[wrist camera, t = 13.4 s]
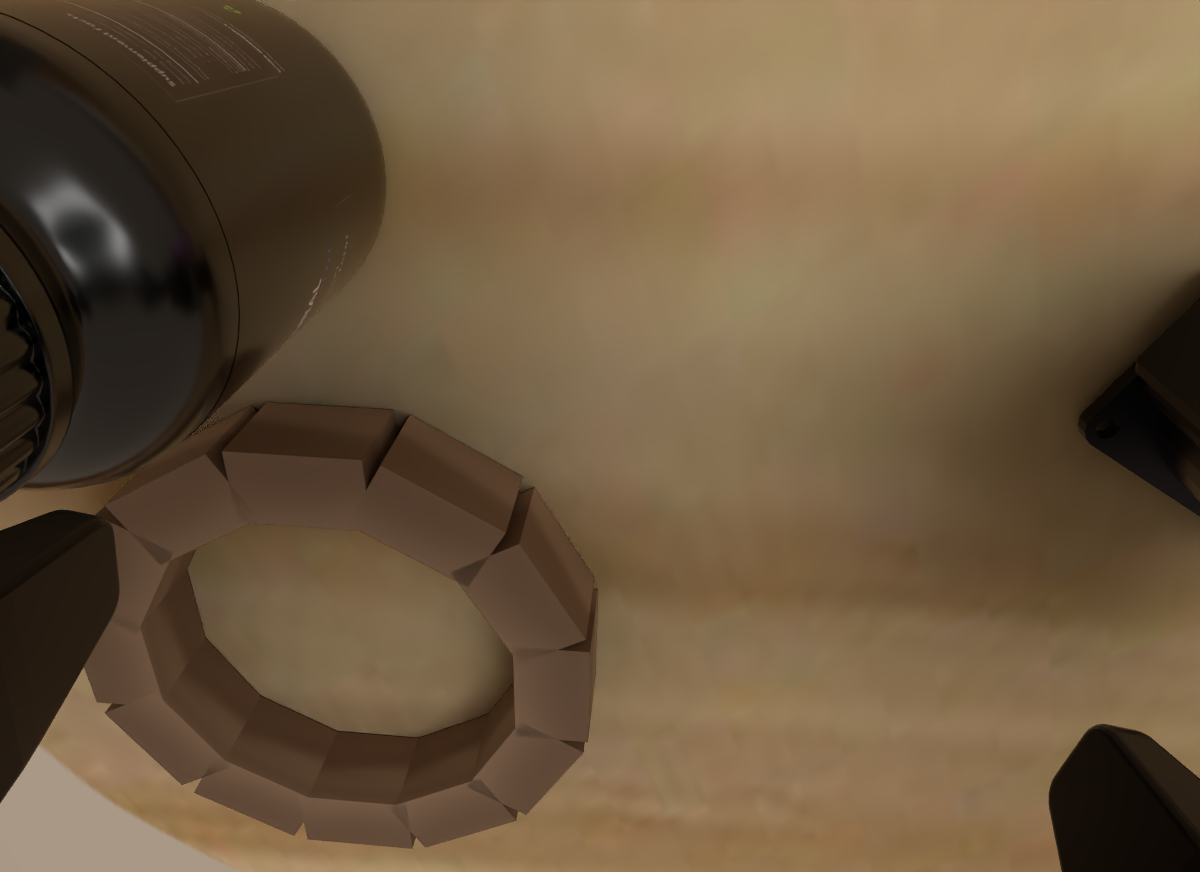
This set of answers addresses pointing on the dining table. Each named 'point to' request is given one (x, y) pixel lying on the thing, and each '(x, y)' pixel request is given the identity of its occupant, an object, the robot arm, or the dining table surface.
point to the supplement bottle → (162, 219)
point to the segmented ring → (399, 520)
